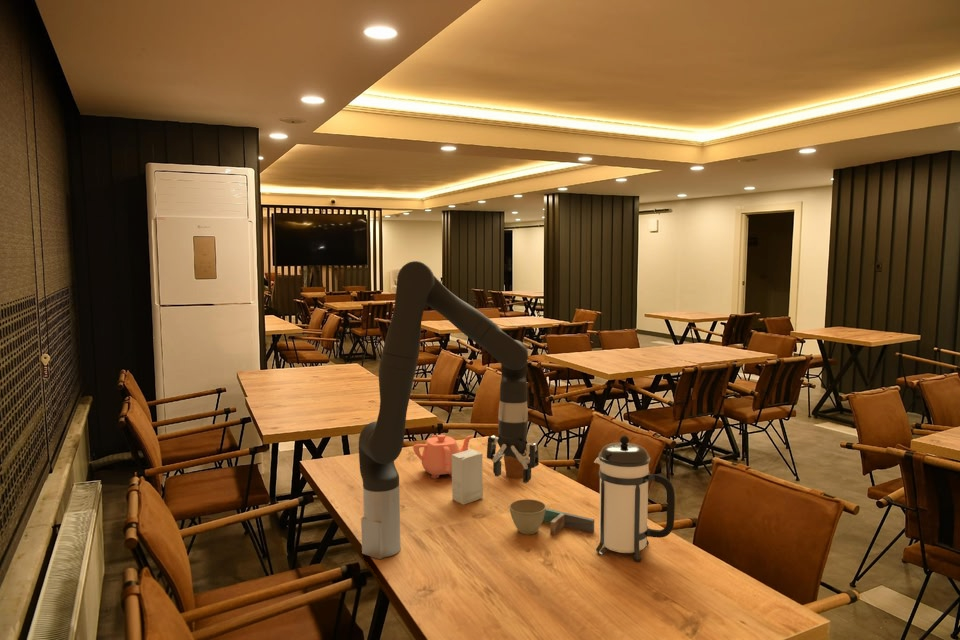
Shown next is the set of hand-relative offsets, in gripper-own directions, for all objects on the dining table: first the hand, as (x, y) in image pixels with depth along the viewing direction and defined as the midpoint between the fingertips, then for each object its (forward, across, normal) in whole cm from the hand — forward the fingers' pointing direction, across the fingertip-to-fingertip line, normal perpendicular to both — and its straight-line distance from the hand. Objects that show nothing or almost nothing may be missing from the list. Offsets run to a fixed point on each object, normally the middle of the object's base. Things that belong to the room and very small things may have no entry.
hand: (511, 478), depth 166 cm
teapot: (+18, -48, +36) cm, 63 cm away
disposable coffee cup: (+17, -25, +46) cm, 56 cm away
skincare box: (+18, -27, +20) cm, 38 cm away
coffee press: (+17, +27, +13) cm, 35 cm away
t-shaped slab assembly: (+17, +7, +14) cm, 23 cm away
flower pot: (+18, 0, +10) cm, 20 cm away
